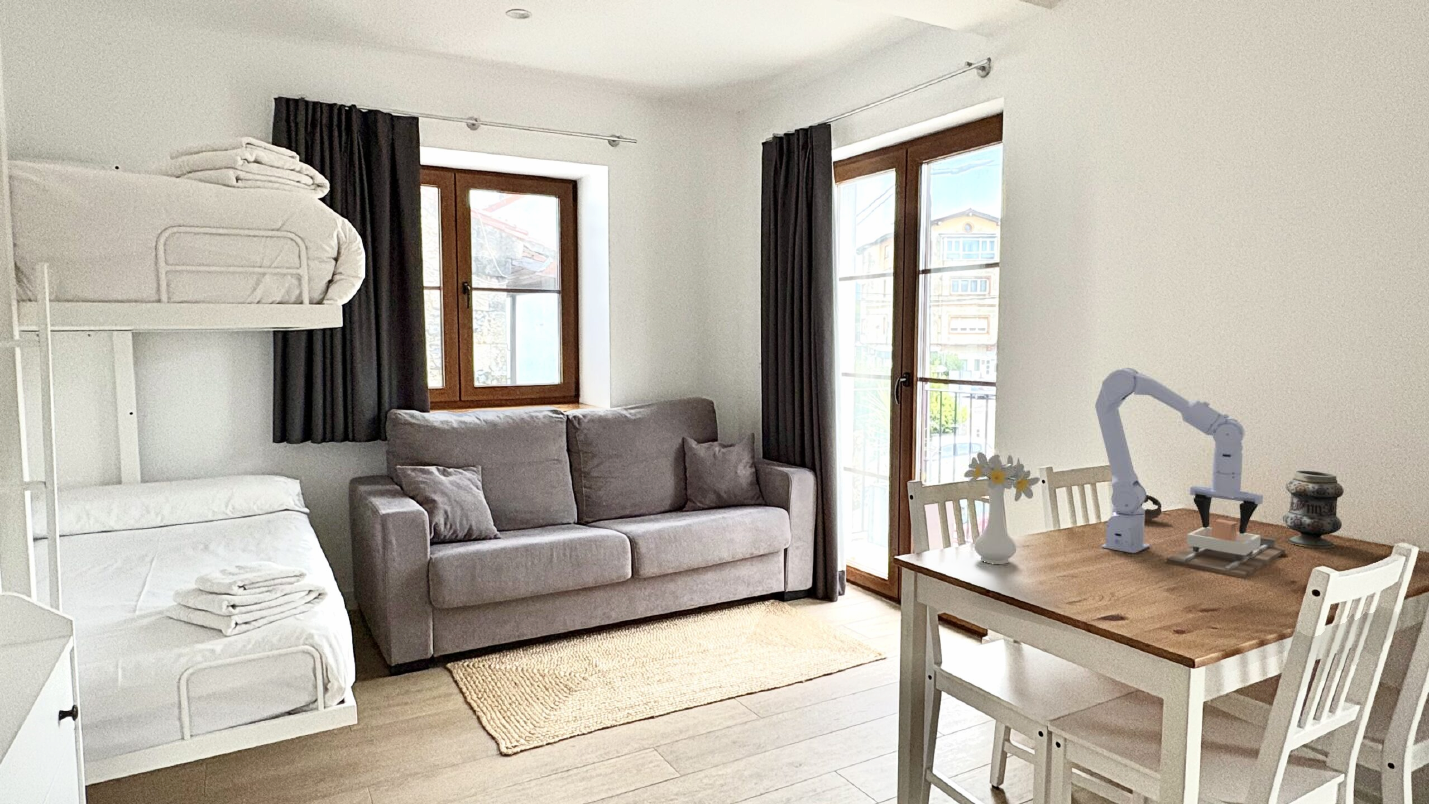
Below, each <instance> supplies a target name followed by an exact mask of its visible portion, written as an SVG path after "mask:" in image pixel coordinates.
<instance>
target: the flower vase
mask: <svg viewBox="0 0 1429 804" xmlns="http://www.w3.org/2000/svg"><path fill="white" fill-rule="evenodd" d="M1020 461H1021V460H1020V458H1019V457H1017V459H1016V463H1015V464H1014V459H1013V456H1012V455H1011V454H1009V455H1008V456H1007V459H1006V463H1003V462H1002V460H1001V458H1000V455H999V454H994V455H992V456H991V457H989V459H988V458H987V456H986V455H985V454H984V453H983V452H982V451H981V452H980V451H979V452H978V453H976V457H975V456H973V457H972V458H971V463H970V464H968V468H969V469H968V470H966V471H965V472H964V473H963V476H964V478H966V479H967V478H968V479H969V478H970V479H969V481H968V482H967V483H968V484H967V486H968V487H970V486H972V485H973V484H974V483H975V482H976V481H977V480H978V479H980V478H984V477H986V478H988V480H986V484H987V487H988V493H989V506H988V507H989V510H988V519H987V524H986V526H985V529H984V531H983V532H982V533H981V534H980V535H978V537H977V538H976V539H975V542H974V547H973V548H974V551H975V553H977V555H978V556H980V560H981V562H983V561H985V562H987V563H986V564H988V563H993V564H992V565H994V564H1003V565H1007V564H1008V563H1009V562H1010V559H1011V558H1012V557H1014V555H1015V554H1016V553H1017V545H1016V542H1015V541H1014V540H1013V538H1012V537H1011V536H1010V535H1009V534H1008V532H1007V529H1006V526H1005V521H1004V495H1005V489H1007V490H1011V489H1012V488H1013V489H1015V494H1014V501H1015V502H1018V501H1019V500H1020V499H1021V497H1022V495H1024V496H1025V497H1026V498H1027V499H1032V498H1033V497H1034V492H1033V490H1032V486H1035V485H1037V484H1039V482H1040V481H1041V478H1040V477H1038V476H1036V477H1030V476H1031V470H1025V466H1024V464H1023V463H1021V462H1020ZM985 562H984V563H985ZM1006 563H1007V564H1006Z"/></svg>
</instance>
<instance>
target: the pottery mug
mask: <svg viewBox="0 0 1429 804" xmlns="http://www.w3.org/2000/svg"><path fill="white" fill-rule="evenodd" d="M1149 501H1150V502H1151V503H1152V505H1154V506H1157V507H1156V508H1155V509H1149V508H1146V509H1144V510H1145V518H1144V522H1145V521H1150V520H1154V519H1157V518H1159V516H1161V514H1162V512H1163V511H1162V503H1161V502H1160V500H1159V499H1157V498H1156V497H1154V496H1152V495H1149V494H1146V500H1145V501H1144V503H1143V504H1146V503H1147V502H1149ZM1143 504H1141V506H1142V507H1143Z"/></svg>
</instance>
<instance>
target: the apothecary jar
mask: <svg viewBox="0 0 1429 804" xmlns="http://www.w3.org/2000/svg"><path fill="white" fill-rule="evenodd" d="M1285 489H1286V491H1287V492H1288V493H1290V501H1289V510H1288V511H1286V512H1285V513H1284V514H1283V515H1282V521H1283V523H1284V524H1285V526H1287V527H1288V528H1289V529H1291V530H1293V531H1295V532H1298V533H1299V534H1300V535H1295V536H1292V537H1289V538H1287V539H1286V542H1287V541H1288V543H1289V544H1291V545H1294V544H1295V545H1294V546H1297V545H1299V547H1302V546H1306V547H1305V548H1309V547H1311V548H1310V549H1321V548H1326V549H1332V548H1331V547H1333V546H1335V547H1336V545H1335V543H1334V542H1332V541H1331V540H1328V539H1326V538H1323V537H1322V536H1324V535H1326V536H1327V535H1331V534H1334V533H1337V532H1338V531H1340V529H1341V528H1342V526H1343V524H1342V520H1341V519H1340V518H1339V517H1338V516H1337V507H1338V499H1339V498H1340V497H1342V496H1343V495H1344V493H1345V490H1344V487H1343V486H1342V485H1341V484H1340V483H1338V480H1337V475H1336V474H1335V473H1331V472H1327V471H1326V472H1325V471H1320V470H1319V471H1318V470H1309V469H1307V470H1306V469H1304V470H1303V469H1302V470H1301V469H1299V470H1294V476H1293V478H1291V479H1290V480H1288V481H1287V482H1286V484H1285Z"/></svg>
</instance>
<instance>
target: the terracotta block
mask: <svg viewBox="0 0 1429 804" xmlns="http://www.w3.org/2000/svg"><path fill="white" fill-rule="evenodd" d="M1211 528H1212V534H1211V538H1217V539H1223V540H1229V541H1235V542H1236V538H1237V532H1238V521H1230V520H1224V519H1219V518H1218V519H1216V520H1214V521H1211Z"/></svg>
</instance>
